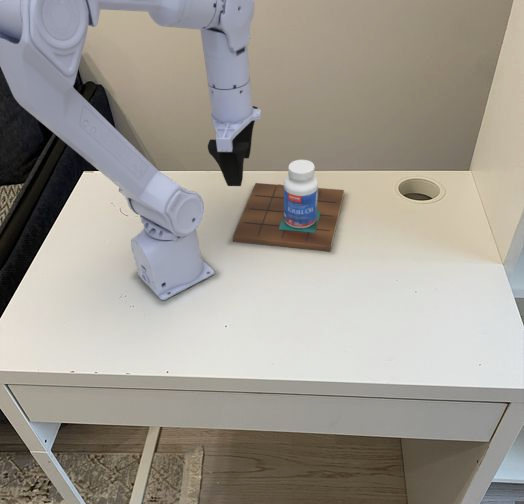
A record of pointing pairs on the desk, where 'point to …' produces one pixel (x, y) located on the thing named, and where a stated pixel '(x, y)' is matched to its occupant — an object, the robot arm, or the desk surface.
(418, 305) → the desk surface
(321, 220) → the board
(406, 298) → the desk surface
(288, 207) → the pill bottle
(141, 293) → the desk surface
